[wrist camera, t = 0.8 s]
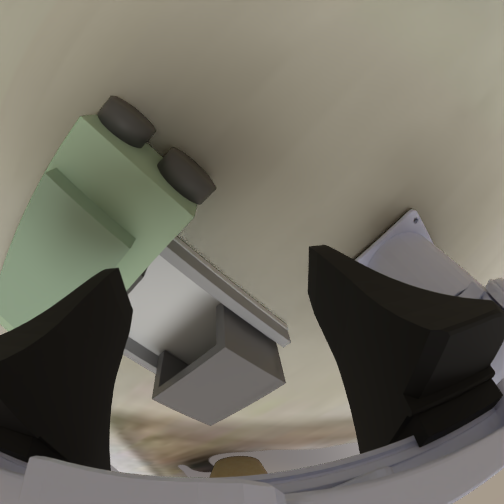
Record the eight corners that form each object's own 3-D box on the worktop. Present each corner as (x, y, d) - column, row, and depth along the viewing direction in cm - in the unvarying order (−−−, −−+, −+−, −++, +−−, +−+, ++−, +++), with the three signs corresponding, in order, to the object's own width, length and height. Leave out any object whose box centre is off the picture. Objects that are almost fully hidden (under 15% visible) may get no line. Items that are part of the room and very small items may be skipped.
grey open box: (274, 338, 24) (285, 383, 20) (209, 383, 26) (210, 425, 22) (223, 300, 22) (225, 347, 17) (159, 354, 24) (152, 399, 20)
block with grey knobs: (329, 291, 24) (357, 342, 18) (176, 401, 29) (173, 448, 23) (122, 96, 15) (80, 92, 10) (10, 287, 20) (-22, 327, 15)
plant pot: (291, 465, 41) (307, 539, 27) (215, 479, 42) (220, 549, 28) (268, 438, 35) (285, 538, 20) (175, 453, 35) (174, 543, 21)
